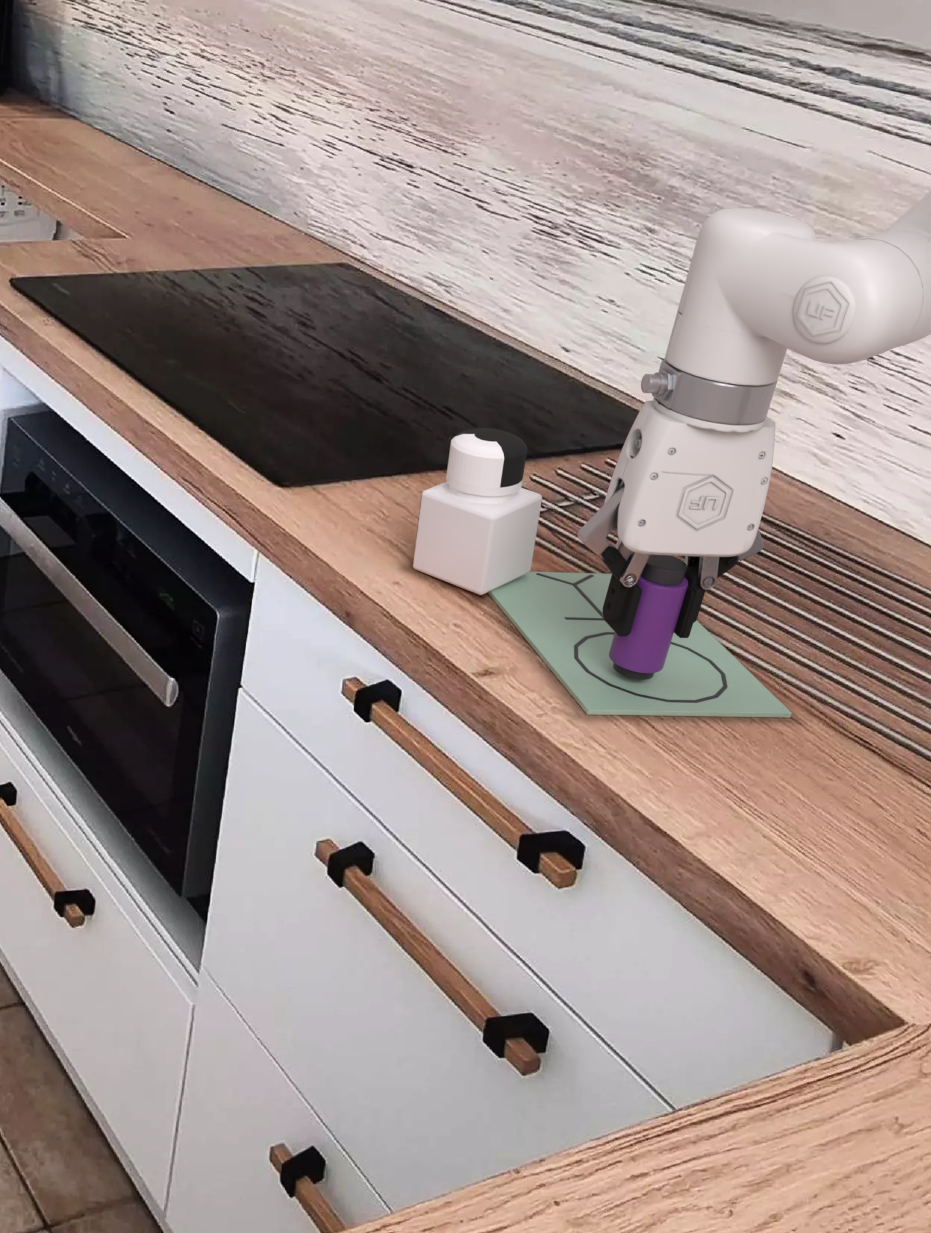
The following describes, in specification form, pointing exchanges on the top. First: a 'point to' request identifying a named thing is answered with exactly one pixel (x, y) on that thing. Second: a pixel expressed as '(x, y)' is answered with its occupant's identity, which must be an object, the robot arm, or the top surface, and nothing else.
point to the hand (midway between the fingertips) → (645, 626)
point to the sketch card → (579, 657)
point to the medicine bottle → (479, 514)
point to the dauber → (652, 619)
